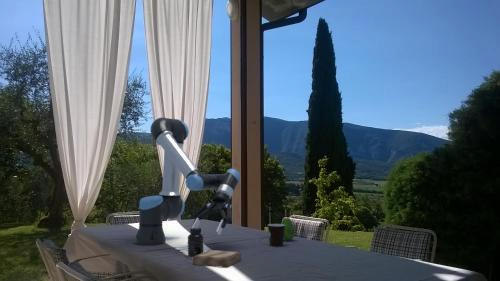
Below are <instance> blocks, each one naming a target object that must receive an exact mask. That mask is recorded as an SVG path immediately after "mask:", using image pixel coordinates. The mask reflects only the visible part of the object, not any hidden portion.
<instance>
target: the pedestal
mask: <svg viewBox="0 0 500 281" xmlns="http://www.w3.org/2000/svg"><path fill="white" fill-rule="evenodd" d="M241 260H242V252H239V251H228V250H227V251H226V250H214V249H212V250H211V249H209V250H206V251H203V253H201V254H198V255H196V256H194V257H192V265H195V266H208V267H216V266H222V267H221V268H227V267H228V268H230V267H231V266H233V265H235V264H236V263H238V262H239V261H241ZM234 263H235V264H234ZM232 264H233V265H232Z"/></svg>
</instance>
